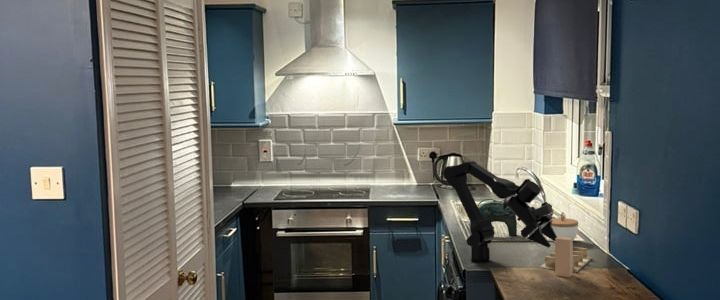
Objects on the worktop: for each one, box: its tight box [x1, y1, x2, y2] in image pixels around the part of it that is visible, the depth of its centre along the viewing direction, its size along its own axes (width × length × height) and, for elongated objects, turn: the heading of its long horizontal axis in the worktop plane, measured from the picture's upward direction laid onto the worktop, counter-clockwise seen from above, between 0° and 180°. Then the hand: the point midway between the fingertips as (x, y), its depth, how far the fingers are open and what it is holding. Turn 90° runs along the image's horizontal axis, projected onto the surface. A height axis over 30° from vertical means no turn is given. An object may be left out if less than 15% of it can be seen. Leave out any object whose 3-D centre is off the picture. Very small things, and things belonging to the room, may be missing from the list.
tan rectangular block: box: [554, 237, 574, 278], centre depth 220 cm, size 4×5×13 cm
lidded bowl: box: [549, 215, 579, 244], centre depth 268 cm, size 13×13×11 cm
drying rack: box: [539, 246, 593, 273], centre depth 235 cm, size 13×21×4 cm, turn 146°
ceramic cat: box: [477, 194, 518, 237], centre depth 283 cm, size 20×6×20 cm, turn 85°
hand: (553, 244), depth 222 cm, fingers open, 9 cm apart
